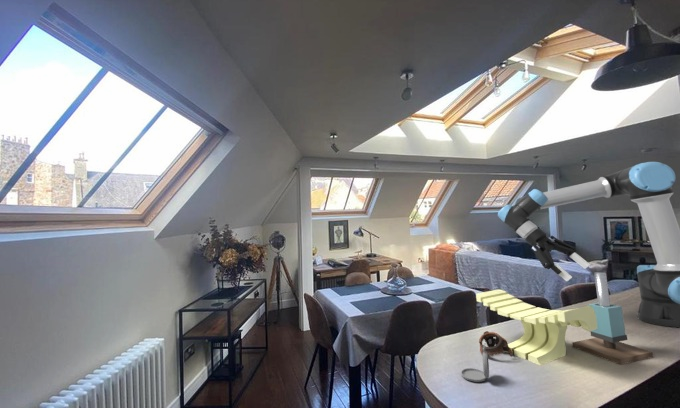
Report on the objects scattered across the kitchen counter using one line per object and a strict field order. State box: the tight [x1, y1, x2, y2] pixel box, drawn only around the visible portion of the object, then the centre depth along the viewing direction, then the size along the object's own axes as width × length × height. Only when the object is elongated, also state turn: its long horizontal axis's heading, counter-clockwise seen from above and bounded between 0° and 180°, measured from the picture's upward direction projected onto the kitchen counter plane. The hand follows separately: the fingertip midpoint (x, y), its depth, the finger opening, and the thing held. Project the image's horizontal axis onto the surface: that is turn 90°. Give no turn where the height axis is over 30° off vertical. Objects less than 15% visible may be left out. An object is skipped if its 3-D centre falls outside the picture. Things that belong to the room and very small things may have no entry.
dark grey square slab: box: [589, 331, 628, 343], centre depth 95 cm, size 6×6×2 cm
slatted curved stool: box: [475, 289, 598, 366], centre depth 98 cm, size 30×16×18 cm, turn 24°
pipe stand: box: [571, 271, 654, 365], centre depth 95 cm, size 14×14×26 cm
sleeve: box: [587, 302, 627, 338], centre depth 95 cm, size 6×6×9 cm
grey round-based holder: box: [460, 343, 490, 383], centre depth 83 cm, size 8×8×10 cm
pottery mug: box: [478, 330, 513, 357], centre depth 98 cm, size 12×10×8 cm
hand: (578, 273), depth 111 cm, fingers open, 13 cm apart
